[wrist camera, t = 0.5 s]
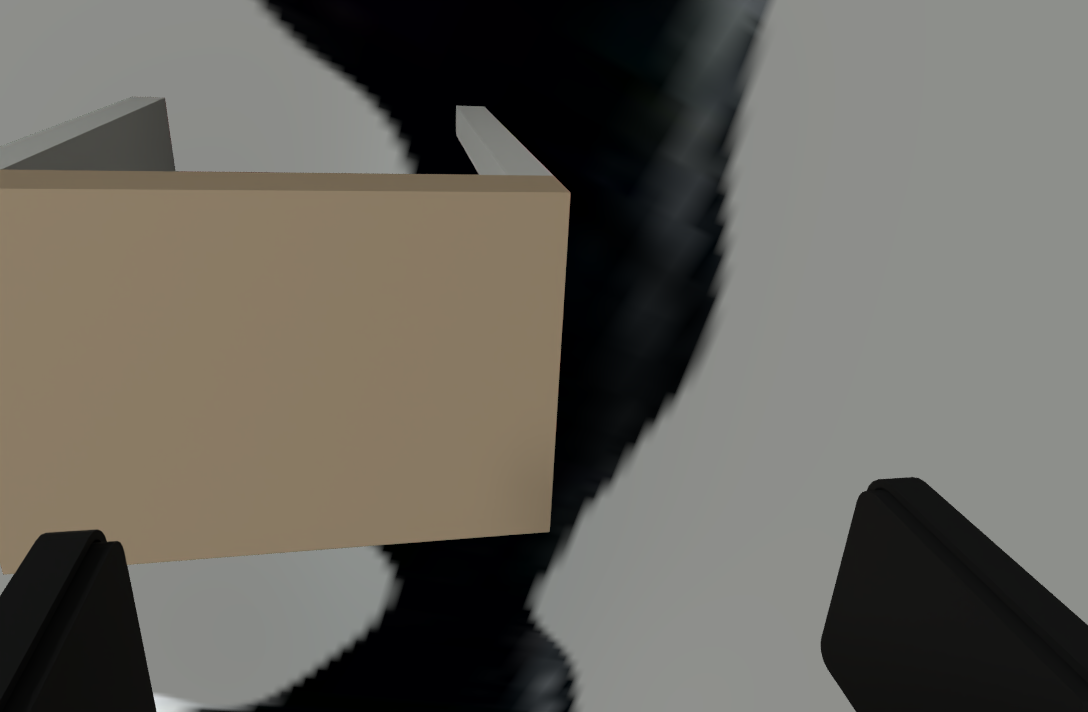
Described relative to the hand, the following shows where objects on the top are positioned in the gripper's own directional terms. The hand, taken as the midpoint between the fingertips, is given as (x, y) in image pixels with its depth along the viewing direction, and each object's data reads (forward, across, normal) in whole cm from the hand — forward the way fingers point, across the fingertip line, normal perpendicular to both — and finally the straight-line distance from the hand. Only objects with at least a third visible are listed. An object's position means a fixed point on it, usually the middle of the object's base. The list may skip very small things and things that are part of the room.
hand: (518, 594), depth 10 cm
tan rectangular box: (+27, +4, +2) cm, 27 cm away
